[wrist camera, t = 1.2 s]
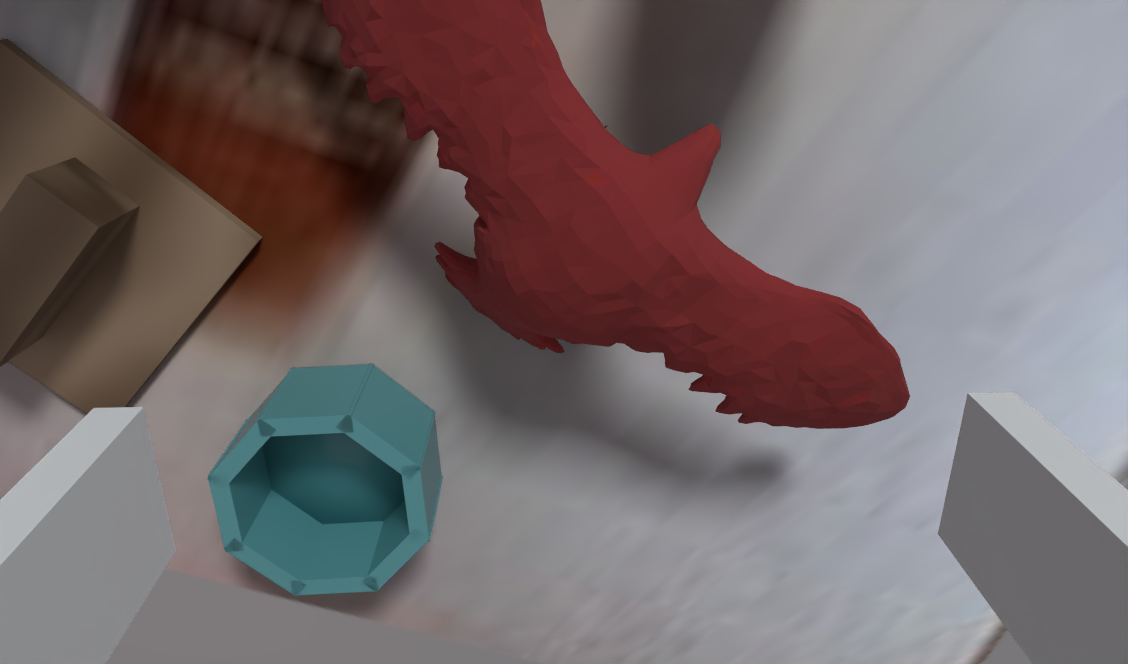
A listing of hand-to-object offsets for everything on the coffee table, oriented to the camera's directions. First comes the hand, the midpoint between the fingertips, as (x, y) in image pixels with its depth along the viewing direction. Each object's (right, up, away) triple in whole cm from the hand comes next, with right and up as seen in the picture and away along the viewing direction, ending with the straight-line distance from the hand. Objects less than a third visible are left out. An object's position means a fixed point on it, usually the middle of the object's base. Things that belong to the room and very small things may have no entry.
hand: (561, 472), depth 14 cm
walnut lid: (-21, +6, +23) cm, 32 cm away
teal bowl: (-10, -3, +26) cm, 29 cm away
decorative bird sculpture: (0, +8, +23) cm, 24 cm away
